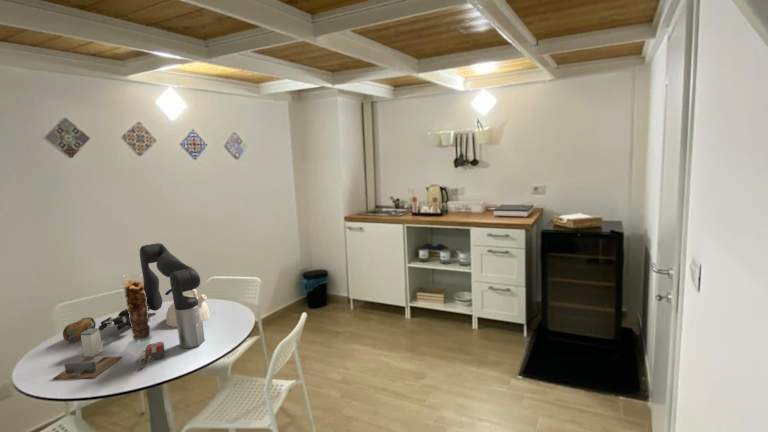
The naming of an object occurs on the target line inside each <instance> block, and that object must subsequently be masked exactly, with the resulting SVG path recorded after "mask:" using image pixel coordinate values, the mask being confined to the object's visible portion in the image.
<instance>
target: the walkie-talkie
mask: <svg viewBox="0 0 768 432" xmlns="http://www.w3.org/2000/svg"><path fill="white" fill-rule="evenodd" d="M164 343H165V342H162V341H158V342H152V343H149V344H148V345H146V347H145V351H144V352H142V353H141V354H140V356H139V363H140V365H139V369H140V370H143V369H144V364H145V362H147V363H148V362H153V361H155V360H160V359H164V358H165V357H164V356H165V344H164Z"/></svg>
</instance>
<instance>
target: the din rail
mask: <svg viewBox="0 0 768 432" xmlns="http://www.w3.org/2000/svg"><path fill="white" fill-rule="evenodd" d="M94 357H95V358H94V359H92V360H91V361H95V365H96V364H98V363H99V362H101V361H102V360H103V359H105V358H106V357H107V356H105V355H102V356H100V355H97V356H94ZM82 374H84V371H75V372H73V373H72V374H71V376H81V375H82Z"/></svg>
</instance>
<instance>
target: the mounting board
mask: <svg viewBox="0 0 768 432" xmlns="http://www.w3.org/2000/svg"><path fill="white" fill-rule="evenodd" d="M95 357H96V356H84V357H83V358H81V359H80V360H78V361H77V362H84V361H91V360H92V359H94V358H95ZM105 357H106V358H105V359H103V360H102V361H101V362H99V363H98V364H96V365H95V366H96V371H95V372H94V373H84V374H82V375H81V376H71V374H72V373H68V374H66V371H65V370H63V371H62V372H59V373H58V374H57V375H56V376H54V377H53V380H76V379H77V380H79V379H80V380H81V379H82V380H83V379H84V380H85V379H96V378H98V376H100V375H101V374H102V373H104V372H106V370H108V369H109V368H110V367H111V366H114V364H116V363H117V362H118V361H119V360H121V359H122V358H123V356H119V355H118V356H117V355H116V356H115V355H114V356H105Z"/></svg>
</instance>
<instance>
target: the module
mask: <svg viewBox="0 0 768 432" xmlns="http://www.w3.org/2000/svg"><path fill="white" fill-rule="evenodd" d="M101 338H102V337H101V333H100V331H99V327H97V328H96V327H95V328H94V329H88V330H86V331H84V332H82V333H81V339H80V340H81V345H82V351H83V356H84V357H96V355H98V354H99V353H100V352H102V351H103V346H102V339H101Z"/></svg>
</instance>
